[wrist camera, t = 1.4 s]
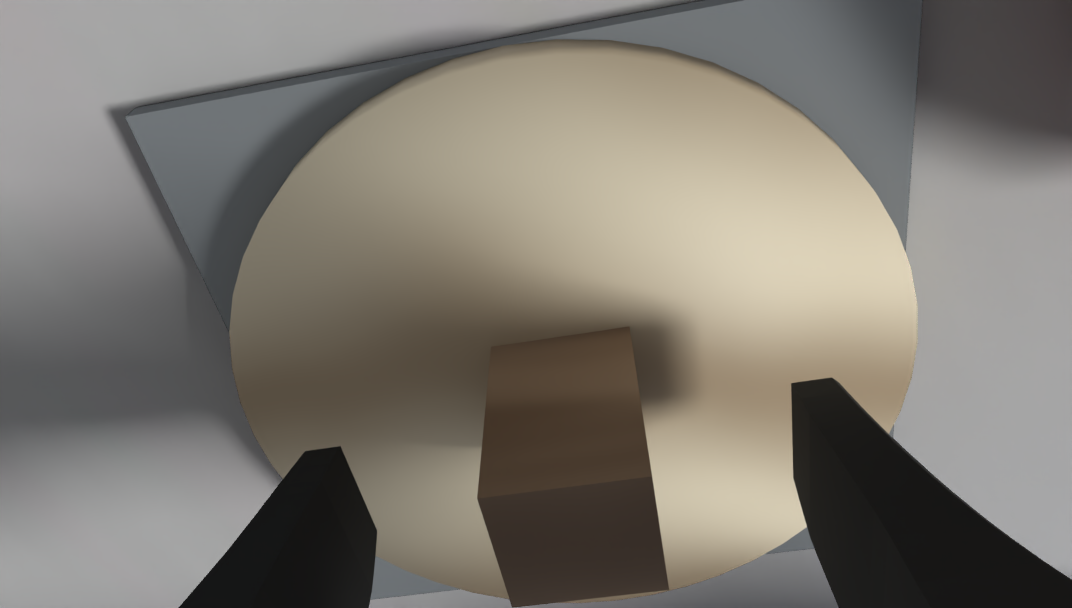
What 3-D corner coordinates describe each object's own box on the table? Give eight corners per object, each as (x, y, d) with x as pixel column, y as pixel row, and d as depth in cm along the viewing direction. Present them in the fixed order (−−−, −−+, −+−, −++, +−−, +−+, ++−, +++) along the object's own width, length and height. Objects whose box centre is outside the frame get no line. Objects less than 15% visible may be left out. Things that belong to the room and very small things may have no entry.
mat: (879, 525, 18) (885, 540, 18) (361, 586, 20) (358, 601, 19) (914, -40, 12) (925, -34, 11) (135, 108, 13) (124, 116, 13)
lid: (885, 538, 18) (970, 733, 14) (358, 599, 19) (315, 791, 16) (924, -35, 11) (1096, 58, 8) (126, 116, 13) (-38, 253, 9)
